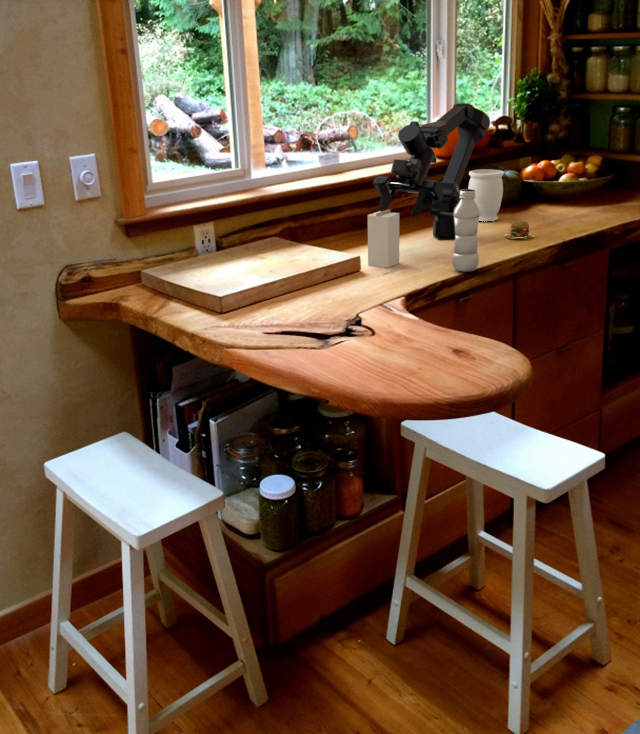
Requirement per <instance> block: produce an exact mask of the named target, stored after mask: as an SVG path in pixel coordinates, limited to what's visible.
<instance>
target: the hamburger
mask: <svg viewBox="0 0 640 734" xmlns="http://www.w3.org/2000/svg"><path fill="white" fill-rule="evenodd" d="M508 231H509V233H510V234H511V235H510V237H511V236H513V237H525V236H528V237H529V235H528V234H530V233H531V232H530V224H529V223H528V222H527V220H525V219H524V220H523V219H517V220H513V222H512V223H511V225H510V229H509V230H508Z"/></svg>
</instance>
